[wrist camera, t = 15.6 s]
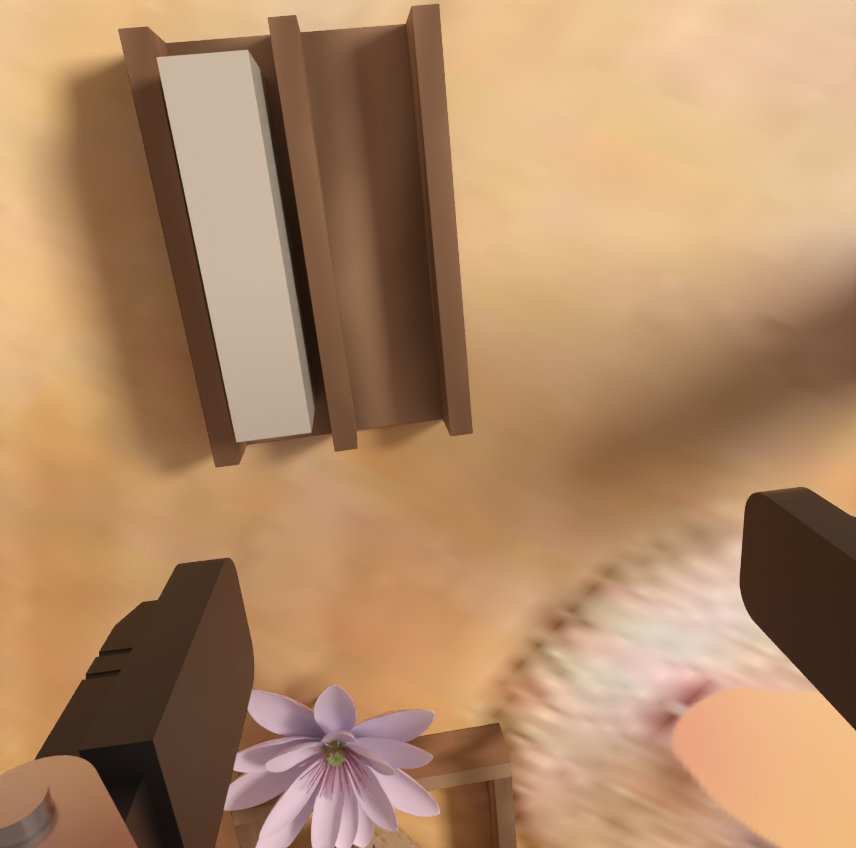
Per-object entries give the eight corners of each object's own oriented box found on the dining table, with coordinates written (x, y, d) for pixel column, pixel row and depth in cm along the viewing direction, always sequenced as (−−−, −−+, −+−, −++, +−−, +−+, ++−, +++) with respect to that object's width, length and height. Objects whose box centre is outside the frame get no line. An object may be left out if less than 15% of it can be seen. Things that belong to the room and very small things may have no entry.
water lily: (306, 809, 47) (297, 941, 39) (172, 671, 42) (129, 788, 34) (478, 710, 46) (508, 823, 38) (363, 556, 41) (367, 647, 33)
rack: (428, 27, 32) (439, 4, 28) (460, 410, 39) (472, 433, 35) (145, 50, 31) (118, 29, 27) (228, 440, 38) (215, 467, 34)
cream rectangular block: (265, 77, 31) (248, 49, 25) (316, 396, 36) (311, 432, 31) (190, 84, 31) (156, 57, 25) (253, 405, 36) (236, 442, 30)
